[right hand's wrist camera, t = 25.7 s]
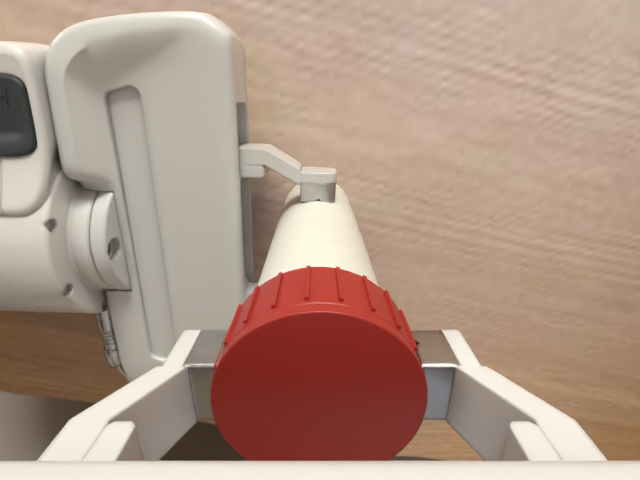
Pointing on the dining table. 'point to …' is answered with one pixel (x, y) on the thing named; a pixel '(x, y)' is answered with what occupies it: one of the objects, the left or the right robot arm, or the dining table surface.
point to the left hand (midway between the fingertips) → (333, 237)
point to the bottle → (317, 238)
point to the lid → (318, 371)
